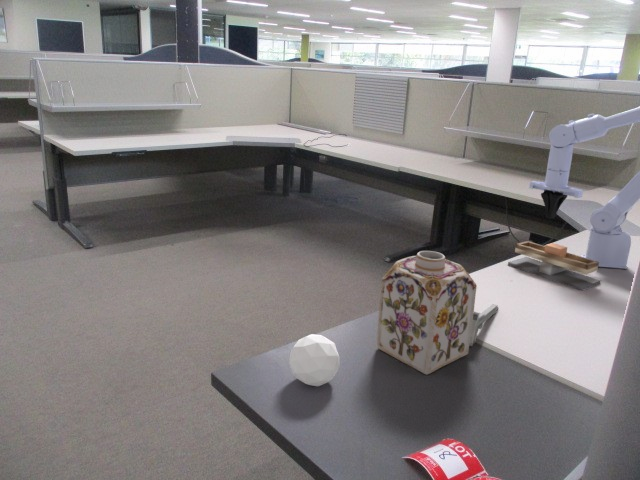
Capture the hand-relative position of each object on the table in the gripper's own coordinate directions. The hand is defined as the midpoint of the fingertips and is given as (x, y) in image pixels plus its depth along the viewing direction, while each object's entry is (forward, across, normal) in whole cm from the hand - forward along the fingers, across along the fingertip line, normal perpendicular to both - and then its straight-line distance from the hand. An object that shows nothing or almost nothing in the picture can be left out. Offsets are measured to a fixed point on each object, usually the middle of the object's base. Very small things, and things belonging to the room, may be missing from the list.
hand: (550, 218), depth 148 cm
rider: (+5, +12, -16) cm, 21 cm away
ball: (+10, +19, -94) cm, 96 cm away
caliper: (+10, +21, -55) cm, 60 cm away
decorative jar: (+10, +22, -73) cm, 77 cm away
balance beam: (+9, +12, -16) cm, 22 cm away
